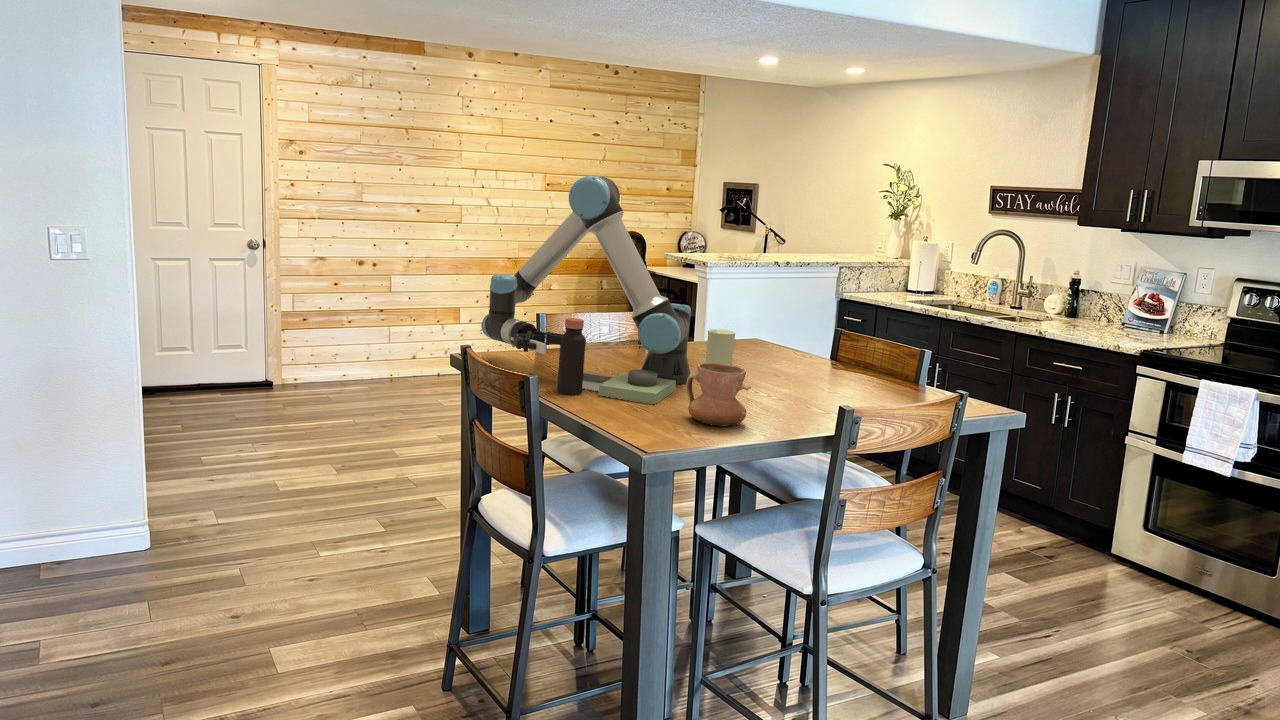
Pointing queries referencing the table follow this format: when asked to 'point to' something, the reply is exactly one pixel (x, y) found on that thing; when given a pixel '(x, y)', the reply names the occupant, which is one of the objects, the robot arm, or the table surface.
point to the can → (720, 346)
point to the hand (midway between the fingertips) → (565, 347)
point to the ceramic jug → (717, 394)
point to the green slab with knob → (630, 386)
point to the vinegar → (571, 358)
